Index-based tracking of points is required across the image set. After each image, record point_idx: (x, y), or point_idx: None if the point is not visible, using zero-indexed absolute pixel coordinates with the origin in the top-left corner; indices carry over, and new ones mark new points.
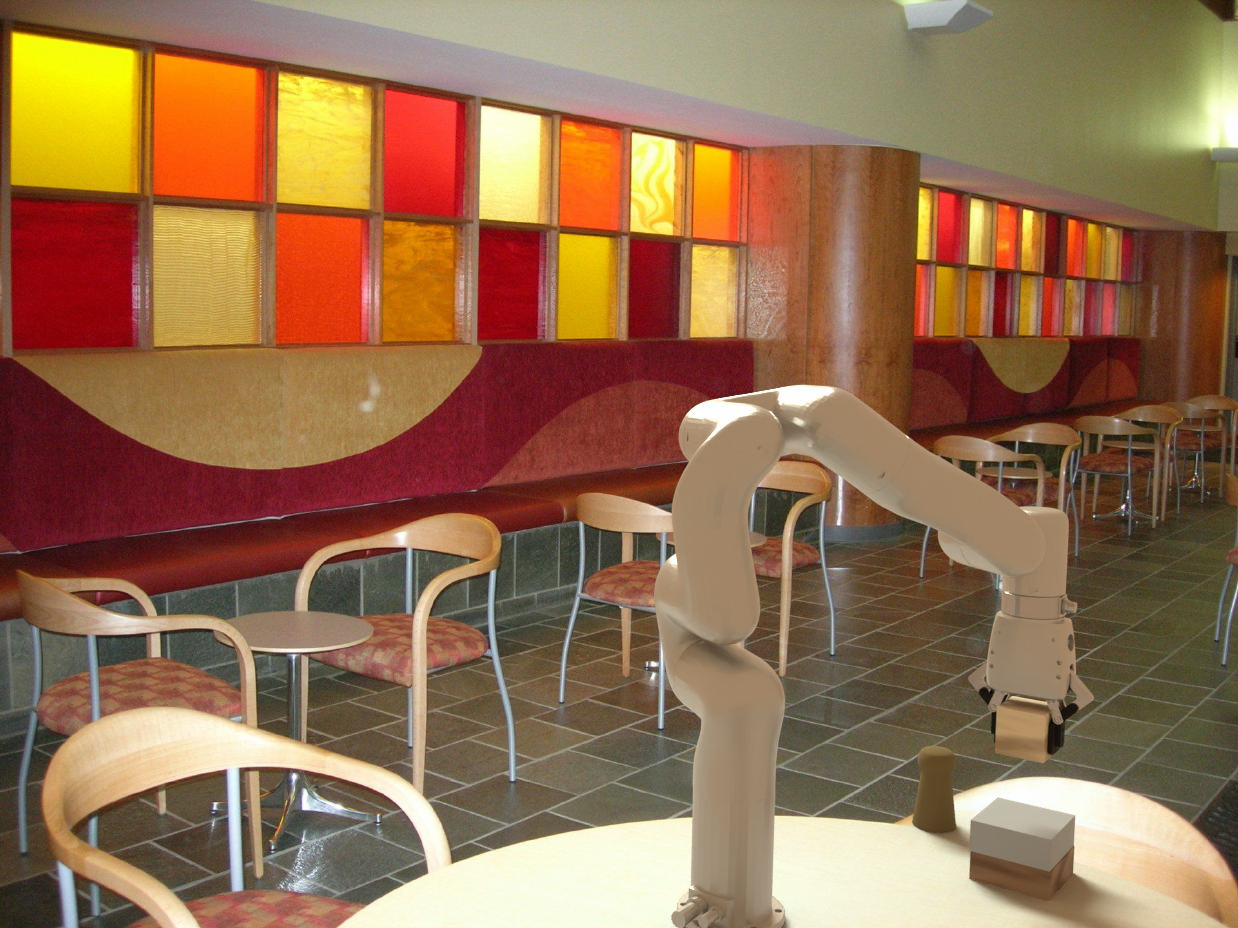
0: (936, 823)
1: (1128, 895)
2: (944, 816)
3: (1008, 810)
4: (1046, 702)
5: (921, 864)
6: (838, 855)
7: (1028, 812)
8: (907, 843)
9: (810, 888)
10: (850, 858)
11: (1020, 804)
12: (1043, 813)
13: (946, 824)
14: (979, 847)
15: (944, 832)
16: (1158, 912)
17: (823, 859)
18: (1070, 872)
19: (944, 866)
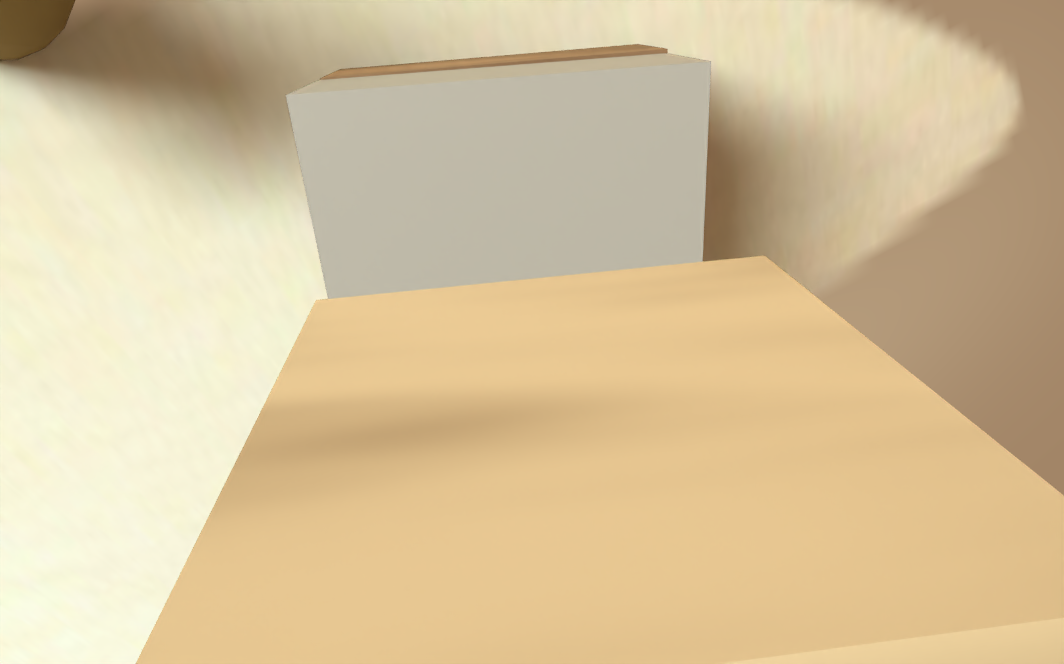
0: (21, 42)
1: (837, 101)
2: (20, 10)
3: (424, 240)
4: (909, 660)
5: (222, 354)
6: (4, 472)
7: (509, 196)
8: (63, 234)
9: (133, 658)
10: (45, 465)
11: (430, 115)
12: (572, 156)
13: (49, 2)
14: None
15: (68, 15)
16: (931, 162)
17: (2, 521)
18: None
19: (282, 317)
